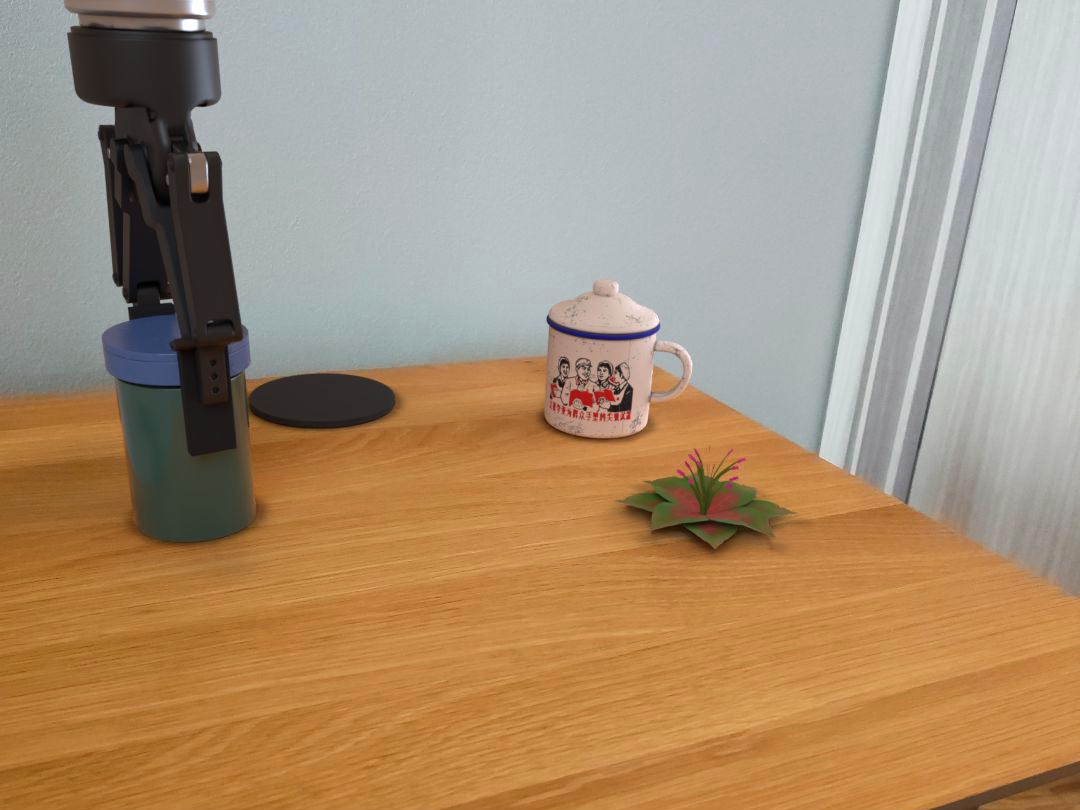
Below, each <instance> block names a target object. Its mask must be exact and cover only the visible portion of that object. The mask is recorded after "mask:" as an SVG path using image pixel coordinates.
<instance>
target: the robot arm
mask: <svg viewBox="0 0 1080 810" xmlns="http://www.w3.org/2000/svg"><path fill="white" fill-rule="evenodd" d="M63 5H64V8H65V9H66V10H67V11H68V12H69V13H70V14H76V15H77V17H78V25H71V26H70V27H69V29H70V31H69V32H66V36H67V37H66V38H67V44H68V50H69V51H68V52H69V58H70V66H71V72H72V79H73V86H74V87H73V88H74V91H75V94H76V96H77V98H79V99H80V101H83V102H85V103H87V104H90V105H95V106H101V107H108V108H114V124H99V125H98V131H97V138H98V141H99V144H100V149H101V156H102V161H103V169H104V181H105V192H106V193H105V194H106V204H107V205H106V206H107V217H108V229H109V241H110V254H111V267H112V274H111V276H112V281H113V283H114V284H115V287H117V288H122V289H121V294H122V297H123V299H124V301H125V303H126V304H128V305H130V304H132V306H127V311H128V314H127V315H128V321H130V320H134V319H139V318H145V317H152V316H161V315H176V316H177V320H178V324H179V329H180V333H181V338H178V339H174V340H172V341H171V342H169V345H170V348H171V350H172V351H173V352H177V359H178V368H179V377H180V386H181V395H182V404H183V413H184V422H185V431H186V440H187V449H188V453H189V454H190V455H191V456H192V457H193V456H199V455H204V454H209V453H215V452H220V451H225V450H230V449H236V448H237V444H236V433H235V422H234V410H233V399H232V388H231V376H230V365H229V354H228V345H229V344H231V343H233V342H240V341H242V339H243V328H242V325H243V324H242V317H241V311H240V310H241V309H240V304H239V298H238V297H239V296H238V290H237V284H236V277H235V271H234V264H233V256H232V250H231V244H230V243H231V242H230V237H229V230H228V224H227V223H228V222H227V217H226V211H225V203H224V191H223V190H224V189H223V188H224V187H223V161H222V159H221V155H220V153H219V152H218V151H217V150H213V151H212V150H211V151H207V150H206V151H203V149H202V146H201V144H200V142H198V140H197V137H196V132H195V127H194V123H193V119H192V118H191V117H192V111H193V110H194V109H195V108H207V107H212V106H214V105H216V104H218V103H219V102H220V100H221V99H222V83H221V72H220V70H221V69H220V58H219V46H218V38H217V37H214V32H212V31H209V30H207V28H206V27H207V26H206V20H212V19H213V18H214V17H215V16H216V15H217V6H216V0H63ZM167 300H172V302H171V301H170V302H162V303H161V301H167ZM209 321H213V322H211V323H208V322H209Z"/></svg>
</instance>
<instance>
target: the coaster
mask: <svg viewBox="0 0 1080 810" xmlns="http://www.w3.org/2000/svg"><path fill="white" fill-rule="evenodd" d="M395 404H396V395H395V392H394V390H393V389H391V387H390V386H389V385H387V384H385V383H383V382H380V381H379V380H376V379H372V378H369V377H366V376H365V377H364V376H360V375H354V374H347V373H335V372H334V373H331V372H325V373H324V372H319V373H318V372H316V373H304V374H303V373H302V374H296V375H290V376H289V375H288V376H284V377H280V378H276V379H273V380H269V381H267V382H264V383H263V384H261V385H258V386H256V387H255V388H254V389H253V390H252V391H251V392H250V394H249V397H248V406H249V409H250V411H252V413H253V414H254V415H256V416H257V417H259V418H261V419H263V420H265V421H268V422H271V423H274V424H278V425H283V426H287V427H288V426H289V427H296V428H305V429H330V428H331V429H332V428H342V427H349V426H356V425H360V424H366V423H369V422H371V421H374V420H377V419H379V418H381V417H384V416H385V415H387V414H389V413H390V412H391V411H392V410H393V408H394V407H395Z"/></svg>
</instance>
